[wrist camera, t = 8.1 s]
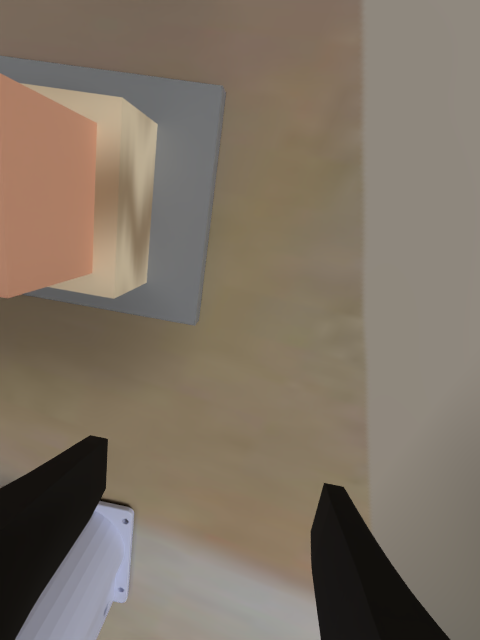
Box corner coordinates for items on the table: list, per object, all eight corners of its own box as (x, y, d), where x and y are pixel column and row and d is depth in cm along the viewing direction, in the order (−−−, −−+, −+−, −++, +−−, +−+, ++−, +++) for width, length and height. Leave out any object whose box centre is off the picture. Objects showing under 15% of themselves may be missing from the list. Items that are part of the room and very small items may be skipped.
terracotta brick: (92, 273, 15) (8, 298, 11) (7, 257, 16) (-113, 275, 11) (97, 123, 14) (-3, 71, 9) (1, 108, 14) (-147, 50, 9)
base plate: (198, 320, 21) (194, 325, 20) (10, 286, 21) (-2, 290, 21) (225, 93, 17) (222, 85, 16) (-1, 62, 18) (-17, 53, 17)
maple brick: (146, 282, 19) (113, 298, 16) (45, 265, 20) (-11, 276, 16) (157, 124, 17) (122, 97, 13) (42, 107, 17) (-25, 76, 14)
